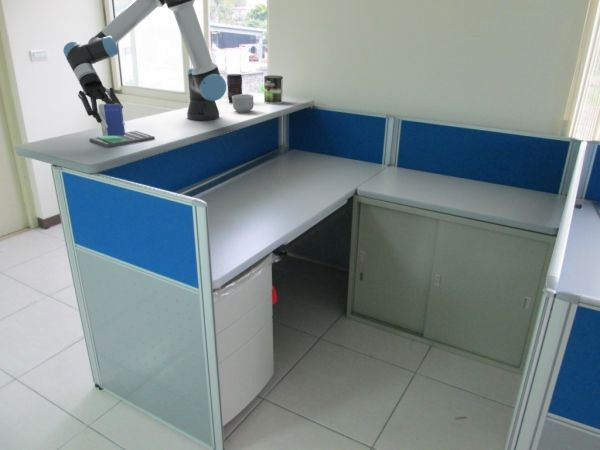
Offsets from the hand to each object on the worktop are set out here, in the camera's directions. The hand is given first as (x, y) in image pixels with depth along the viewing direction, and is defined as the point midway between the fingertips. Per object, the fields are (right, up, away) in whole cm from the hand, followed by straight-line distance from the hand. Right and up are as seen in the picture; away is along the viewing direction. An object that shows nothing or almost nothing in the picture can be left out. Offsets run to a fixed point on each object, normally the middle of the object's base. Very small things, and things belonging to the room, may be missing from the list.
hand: (114, 127), depth 192 cm
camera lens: (+35, +31, +89) cm, 100 cm away
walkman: (-1, -3, +3) cm, 5 cm away
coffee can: (+56, +31, +91) cm, 111 cm away
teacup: (+42, +21, +66) cm, 81 cm away
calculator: (+1, -4, +7) cm, 8 cm away
